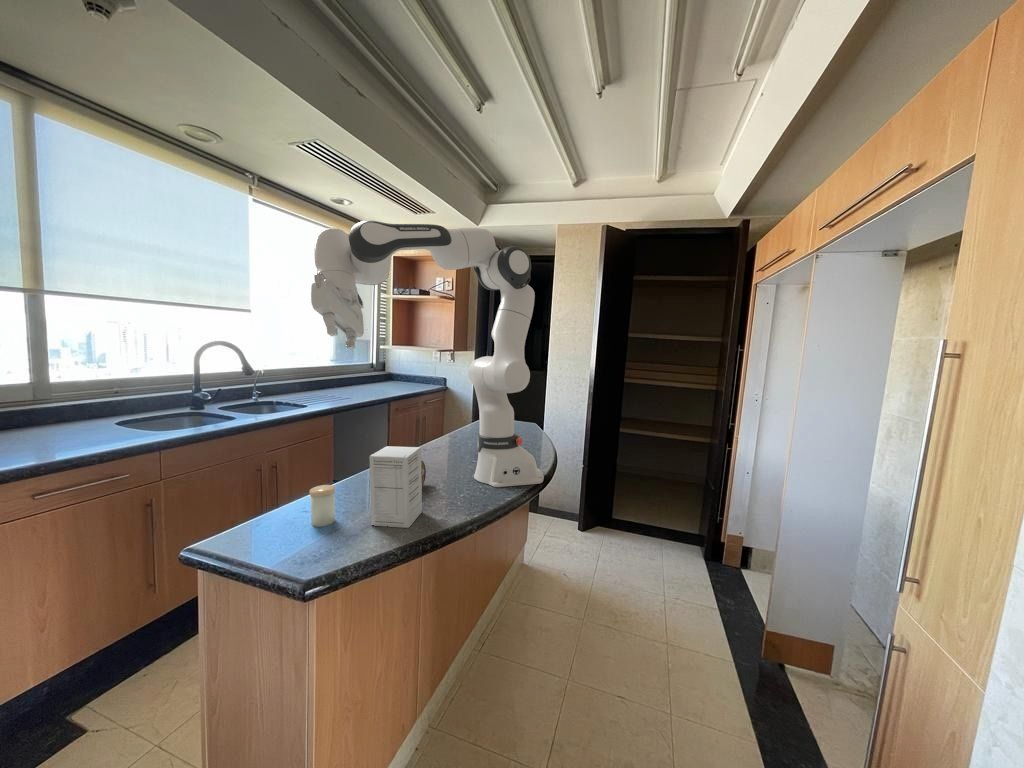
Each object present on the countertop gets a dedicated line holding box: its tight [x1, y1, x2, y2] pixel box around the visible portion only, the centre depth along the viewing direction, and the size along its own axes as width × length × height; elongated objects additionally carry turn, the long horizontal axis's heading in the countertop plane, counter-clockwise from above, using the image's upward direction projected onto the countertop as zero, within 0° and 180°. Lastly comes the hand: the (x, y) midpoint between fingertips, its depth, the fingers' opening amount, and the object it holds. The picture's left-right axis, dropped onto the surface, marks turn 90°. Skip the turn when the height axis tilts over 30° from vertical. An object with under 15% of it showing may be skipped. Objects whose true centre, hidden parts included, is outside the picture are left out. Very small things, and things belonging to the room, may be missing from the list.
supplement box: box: [369, 445, 423, 529], centre depth 91 cm, size 10×9×17 cm
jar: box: [309, 484, 336, 527], centre depth 89 cm, size 5×5×8 cm
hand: (342, 342), depth 91 cm, fingers open, 8 cm apart
